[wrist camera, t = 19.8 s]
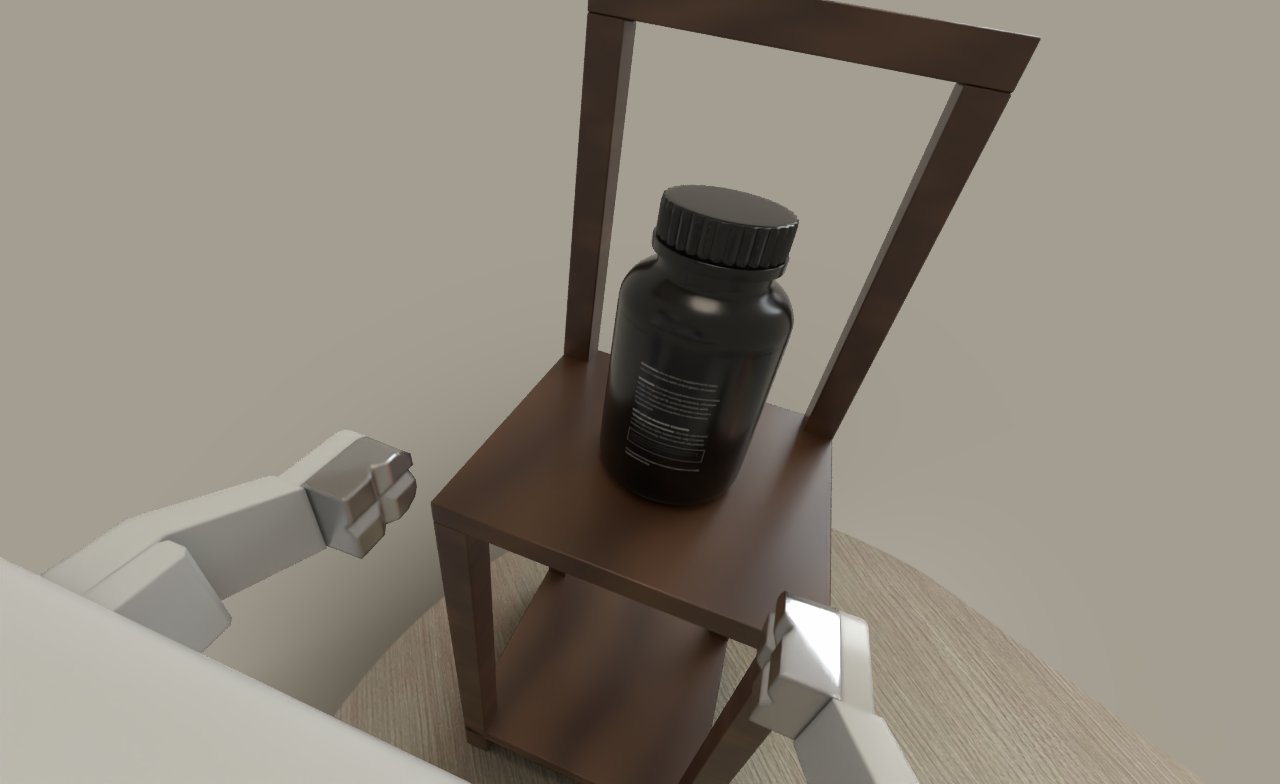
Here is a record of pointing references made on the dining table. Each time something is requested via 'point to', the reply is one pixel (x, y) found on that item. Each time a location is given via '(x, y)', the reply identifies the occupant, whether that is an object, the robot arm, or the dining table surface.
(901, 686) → the dining table surface
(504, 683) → the shelf
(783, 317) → the supplement bottle
